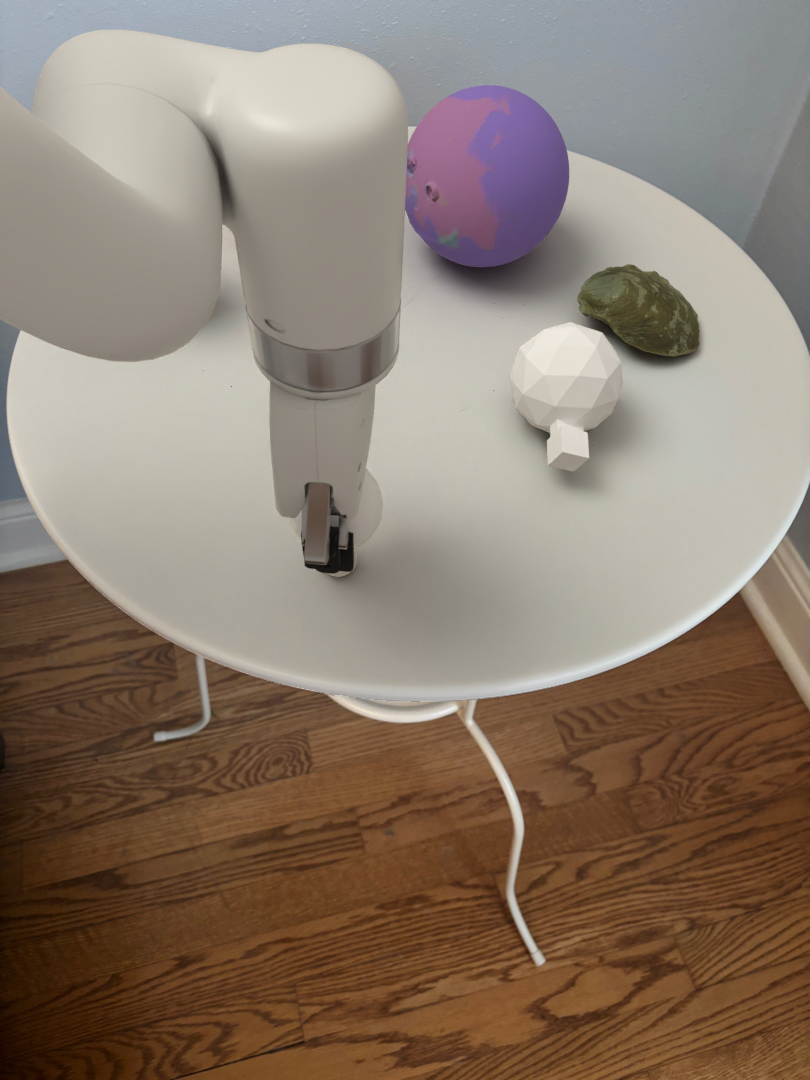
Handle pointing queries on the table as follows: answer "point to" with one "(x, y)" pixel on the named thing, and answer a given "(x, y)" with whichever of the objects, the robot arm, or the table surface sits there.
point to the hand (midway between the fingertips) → (336, 520)
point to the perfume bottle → (566, 388)
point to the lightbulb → (357, 517)
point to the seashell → (641, 310)
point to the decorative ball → (485, 176)
